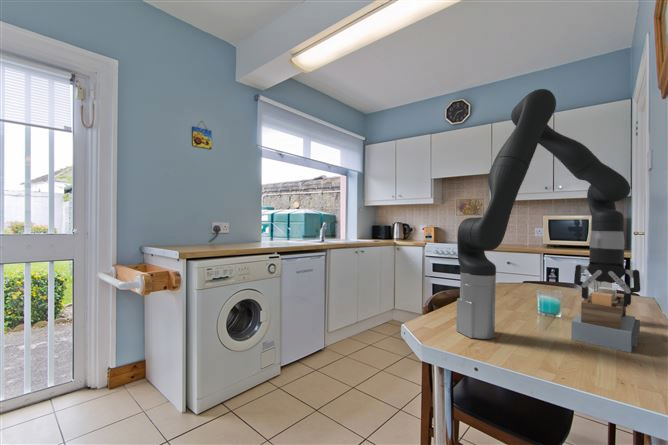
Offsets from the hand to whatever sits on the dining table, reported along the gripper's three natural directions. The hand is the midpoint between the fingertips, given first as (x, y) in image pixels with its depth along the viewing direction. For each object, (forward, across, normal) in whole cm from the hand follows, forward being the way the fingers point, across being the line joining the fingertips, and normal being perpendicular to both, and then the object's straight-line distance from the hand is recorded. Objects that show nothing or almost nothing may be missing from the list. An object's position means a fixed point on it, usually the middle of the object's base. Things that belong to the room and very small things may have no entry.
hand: (605, 303), depth 89 cm
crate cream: (0, 0, -6) cm, 6 cm away
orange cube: (+1, 0, +6) cm, 6 cm away
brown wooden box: (+4, 0, 0) cm, 5 cm away
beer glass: (+10, +4, -20) cm, 22 cm away
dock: (+10, 0, 0) cm, 10 cm away
